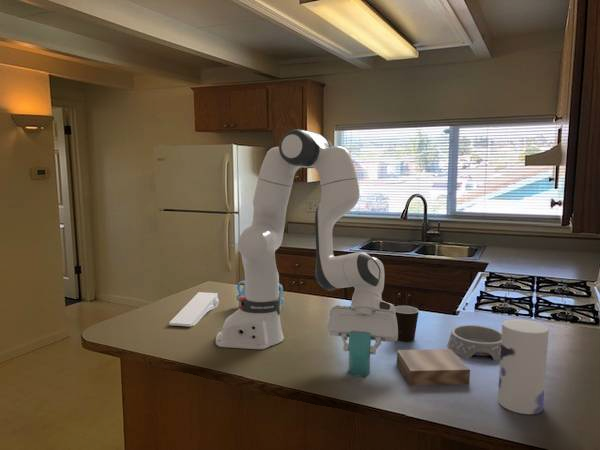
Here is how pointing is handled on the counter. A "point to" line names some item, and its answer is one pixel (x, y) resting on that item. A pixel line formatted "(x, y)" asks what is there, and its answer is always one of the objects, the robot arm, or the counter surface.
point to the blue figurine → (244, 291)
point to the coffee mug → (406, 322)
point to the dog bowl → (475, 341)
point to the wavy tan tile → (432, 367)
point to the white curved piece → (195, 309)
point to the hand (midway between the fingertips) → (359, 352)
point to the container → (523, 366)
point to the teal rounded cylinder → (359, 353)
